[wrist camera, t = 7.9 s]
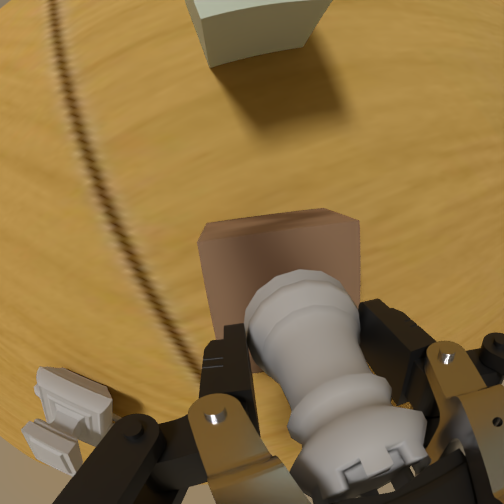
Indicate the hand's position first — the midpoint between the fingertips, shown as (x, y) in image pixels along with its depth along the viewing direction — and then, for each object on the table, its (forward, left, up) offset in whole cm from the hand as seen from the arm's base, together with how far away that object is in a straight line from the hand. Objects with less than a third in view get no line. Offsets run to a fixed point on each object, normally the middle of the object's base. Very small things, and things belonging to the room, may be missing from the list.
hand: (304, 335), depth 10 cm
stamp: (+17, +9, -8) cm, 21 cm away
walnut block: (0, 0, -8) cm, 8 cm away
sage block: (0, -16, -8) cm, 18 cm away
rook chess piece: (0, 0, -2) cm, 2 cm away
